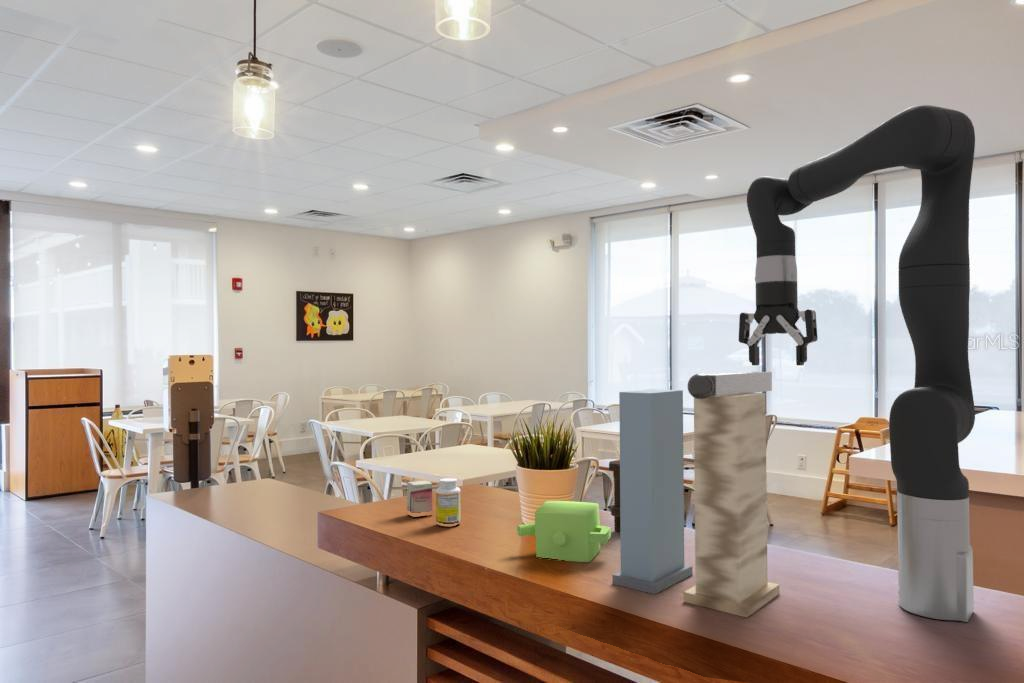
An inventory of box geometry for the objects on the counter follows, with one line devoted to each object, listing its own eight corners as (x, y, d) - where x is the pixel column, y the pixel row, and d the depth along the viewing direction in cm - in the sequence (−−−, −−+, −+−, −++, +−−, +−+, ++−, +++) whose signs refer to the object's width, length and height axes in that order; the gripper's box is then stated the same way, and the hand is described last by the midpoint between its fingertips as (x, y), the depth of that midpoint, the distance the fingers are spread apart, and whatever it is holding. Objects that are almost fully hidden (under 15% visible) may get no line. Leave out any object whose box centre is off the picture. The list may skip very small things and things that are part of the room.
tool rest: (779, 593, 110) (777, 393, 111) (746, 617, 101) (744, 397, 101) (719, 580, 117) (717, 391, 117) (683, 601, 107) (681, 394, 108)
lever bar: (773, 392, 118) (773, 370, 118) (707, 400, 99) (707, 374, 99) (751, 391, 121) (751, 369, 121) (683, 399, 102) (682, 373, 102)
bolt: (633, 535, 146) (632, 464, 146) (609, 534, 147) (608, 463, 147) (633, 528, 152) (633, 460, 152) (610, 527, 153) (610, 459, 153)
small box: (413, 518, 162) (412, 484, 162) (406, 514, 166) (406, 481, 166) (433, 516, 165) (432, 482, 165) (426, 512, 168) (426, 480, 169)
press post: (692, 574, 120) (690, 390, 121) (655, 594, 110) (653, 393, 111) (651, 565, 125) (650, 388, 126) (612, 583, 116) (611, 392, 116)
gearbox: (510, 561, 131) (508, 511, 130) (527, 544, 140) (525, 498, 140) (604, 568, 124) (602, 516, 124) (615, 551, 134) (613, 502, 133)
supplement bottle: (444, 521, 160) (444, 476, 160) (465, 523, 157) (465, 478, 157) (431, 526, 155) (431, 480, 155) (452, 529, 152) (452, 482, 152)
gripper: (821, 279, 131) (822, 365, 131) (747, 285, 141) (748, 365, 140) (807, 276, 126) (809, 366, 125) (732, 282, 135) (733, 365, 135)
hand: (777, 365), depth 133 cm, fingers open, 8 cm apart
